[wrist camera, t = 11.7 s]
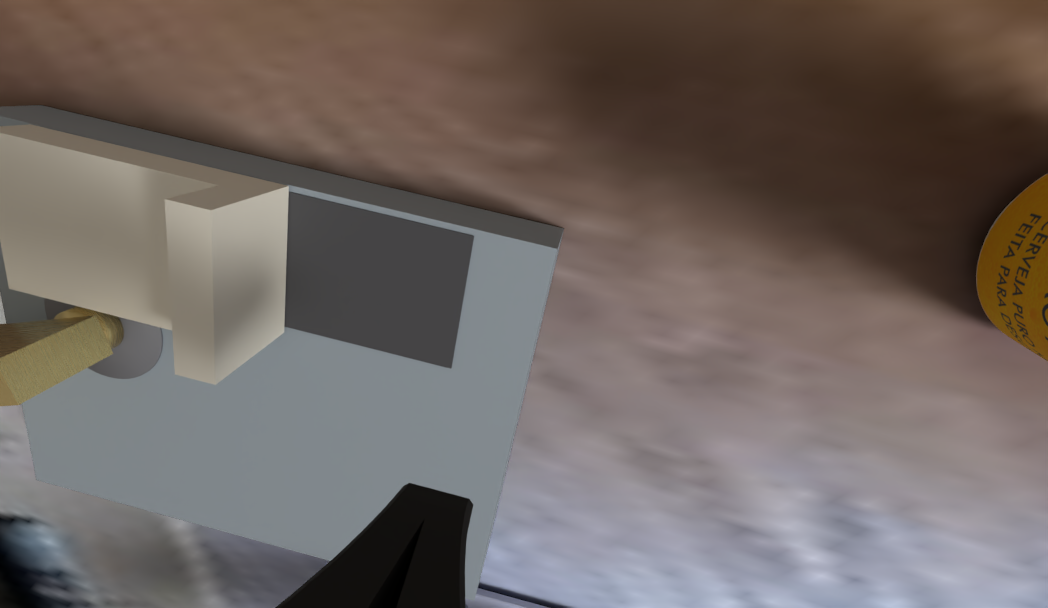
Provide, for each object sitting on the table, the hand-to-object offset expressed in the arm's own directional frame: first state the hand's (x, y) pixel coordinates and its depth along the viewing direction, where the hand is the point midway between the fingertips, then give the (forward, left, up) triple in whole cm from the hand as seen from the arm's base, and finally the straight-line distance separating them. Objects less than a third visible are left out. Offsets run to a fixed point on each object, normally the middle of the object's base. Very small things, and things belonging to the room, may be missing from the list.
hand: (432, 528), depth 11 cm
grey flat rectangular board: (-4, +9, -10) cm, 14 cm away
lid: (+2, +12, -7) cm, 14 cm away
